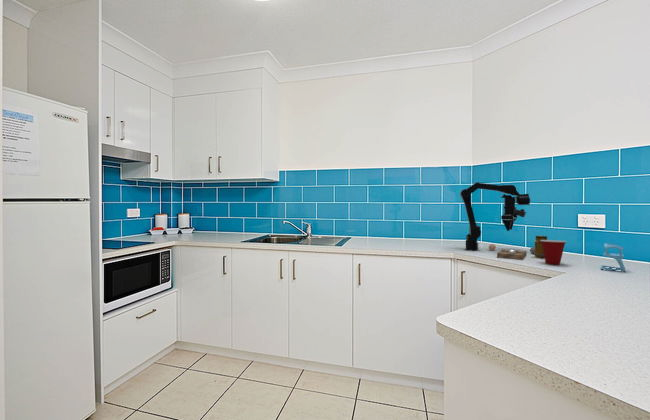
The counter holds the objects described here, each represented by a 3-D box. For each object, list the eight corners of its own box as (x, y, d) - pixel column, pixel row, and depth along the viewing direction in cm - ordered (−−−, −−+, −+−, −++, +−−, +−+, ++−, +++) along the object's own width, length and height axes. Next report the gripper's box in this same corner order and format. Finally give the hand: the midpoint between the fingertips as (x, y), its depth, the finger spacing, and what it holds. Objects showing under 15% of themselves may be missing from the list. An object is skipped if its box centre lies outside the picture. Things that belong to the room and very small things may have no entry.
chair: (626, 273, 133) (627, 245, 132) (600, 270, 138) (601, 243, 138) (625, 269, 138) (626, 243, 138) (600, 267, 144) (601, 241, 143)
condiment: (536, 255, 173) (536, 234, 173) (554, 258, 167) (554, 236, 166) (531, 257, 169) (531, 236, 168) (550, 259, 162) (550, 237, 162)
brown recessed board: (497, 257, 170) (497, 253, 170) (502, 253, 183) (502, 249, 183) (522, 259, 163) (522, 255, 163) (526, 255, 175) (526, 251, 175)
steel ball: (507, 256, 173) (507, 249, 172) (508, 255, 176) (508, 248, 175) (515, 257, 170) (515, 250, 170) (516, 256, 173) (516, 249, 173)
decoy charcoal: (529, 254, 179) (529, 247, 179) (530, 253, 182) (530, 246, 182) (537, 254, 177) (537, 247, 176) (538, 253, 180) (538, 246, 180)
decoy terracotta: (488, 250, 193) (488, 244, 193) (489, 249, 196) (489, 243, 196) (495, 251, 191) (495, 244, 190) (496, 250, 194) (496, 243, 194)
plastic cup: (563, 262, 156) (563, 238, 155) (569, 266, 146) (569, 241, 145) (537, 260, 160) (537, 238, 160) (541, 264, 151) (541, 240, 150)
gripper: (522, 205, 177) (522, 232, 177) (527, 204, 191) (527, 229, 191) (501, 205, 184) (501, 231, 184) (506, 204, 198) (506, 228, 199)
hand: (509, 230), depth 189 cm, fingers open, 9 cm apart
